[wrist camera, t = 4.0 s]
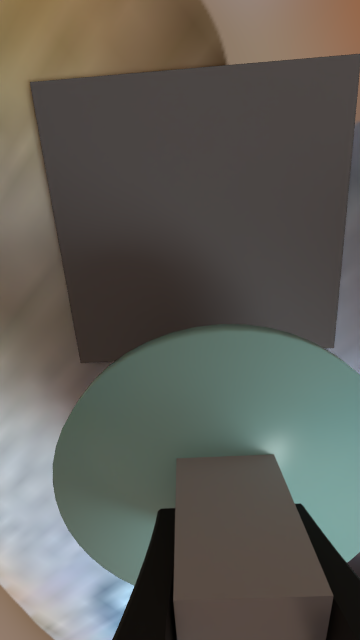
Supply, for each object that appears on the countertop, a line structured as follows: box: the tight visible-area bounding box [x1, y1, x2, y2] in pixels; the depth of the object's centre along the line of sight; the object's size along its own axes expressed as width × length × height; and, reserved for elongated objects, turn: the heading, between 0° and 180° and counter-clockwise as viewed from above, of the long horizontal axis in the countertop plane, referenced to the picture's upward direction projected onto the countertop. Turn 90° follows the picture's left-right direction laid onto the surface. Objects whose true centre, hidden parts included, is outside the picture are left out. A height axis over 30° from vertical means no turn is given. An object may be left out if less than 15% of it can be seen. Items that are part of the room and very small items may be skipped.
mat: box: [30, 54, 360, 363], centre depth 15 cm, size 16×15×1 cm
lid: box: [53, 324, 360, 640], centre depth 9 cm, size 13×13×5 cm
